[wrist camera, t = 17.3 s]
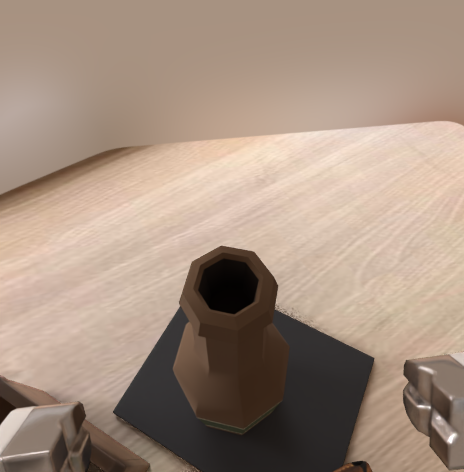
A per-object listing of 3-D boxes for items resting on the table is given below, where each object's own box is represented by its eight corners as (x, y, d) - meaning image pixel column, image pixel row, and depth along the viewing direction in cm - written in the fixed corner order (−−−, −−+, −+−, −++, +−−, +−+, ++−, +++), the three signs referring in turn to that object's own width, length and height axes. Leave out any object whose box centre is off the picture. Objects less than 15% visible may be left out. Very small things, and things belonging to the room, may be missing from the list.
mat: (114, 412, 32) (112, 412, 31) (201, 275, 39) (201, 273, 39) (316, 546, 27) (318, 548, 26) (372, 359, 34) (374, 358, 34)
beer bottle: (264, 341, 35) (303, 184, 14) (284, 427, 31) (377, 377, 10) (188, 355, 34) (117, 212, 14) (197, 445, 30) (117, 429, 10)
